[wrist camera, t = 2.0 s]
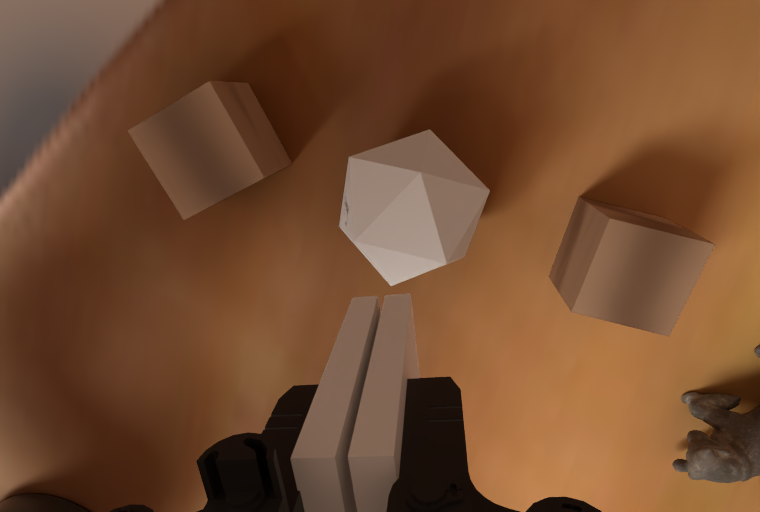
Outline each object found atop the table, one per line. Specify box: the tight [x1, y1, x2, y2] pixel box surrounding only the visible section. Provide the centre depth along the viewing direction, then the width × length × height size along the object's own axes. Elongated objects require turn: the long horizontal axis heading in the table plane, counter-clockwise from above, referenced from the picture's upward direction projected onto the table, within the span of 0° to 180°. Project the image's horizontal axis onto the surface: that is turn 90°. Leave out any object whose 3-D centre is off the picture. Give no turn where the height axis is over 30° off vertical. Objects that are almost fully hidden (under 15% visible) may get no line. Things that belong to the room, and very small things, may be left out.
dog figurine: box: [672, 345, 760, 483], centre depth 33 cm, size 12×6×7 cm, turn 129°
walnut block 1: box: [127, 81, 292, 220], centre depth 31 cm, size 6×6×6 cm
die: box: [339, 129, 490, 286], centre depth 30 cm, size 8×9×10 cm
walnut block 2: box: [549, 197, 715, 336], centre depth 30 cm, size 6×6×6 cm
